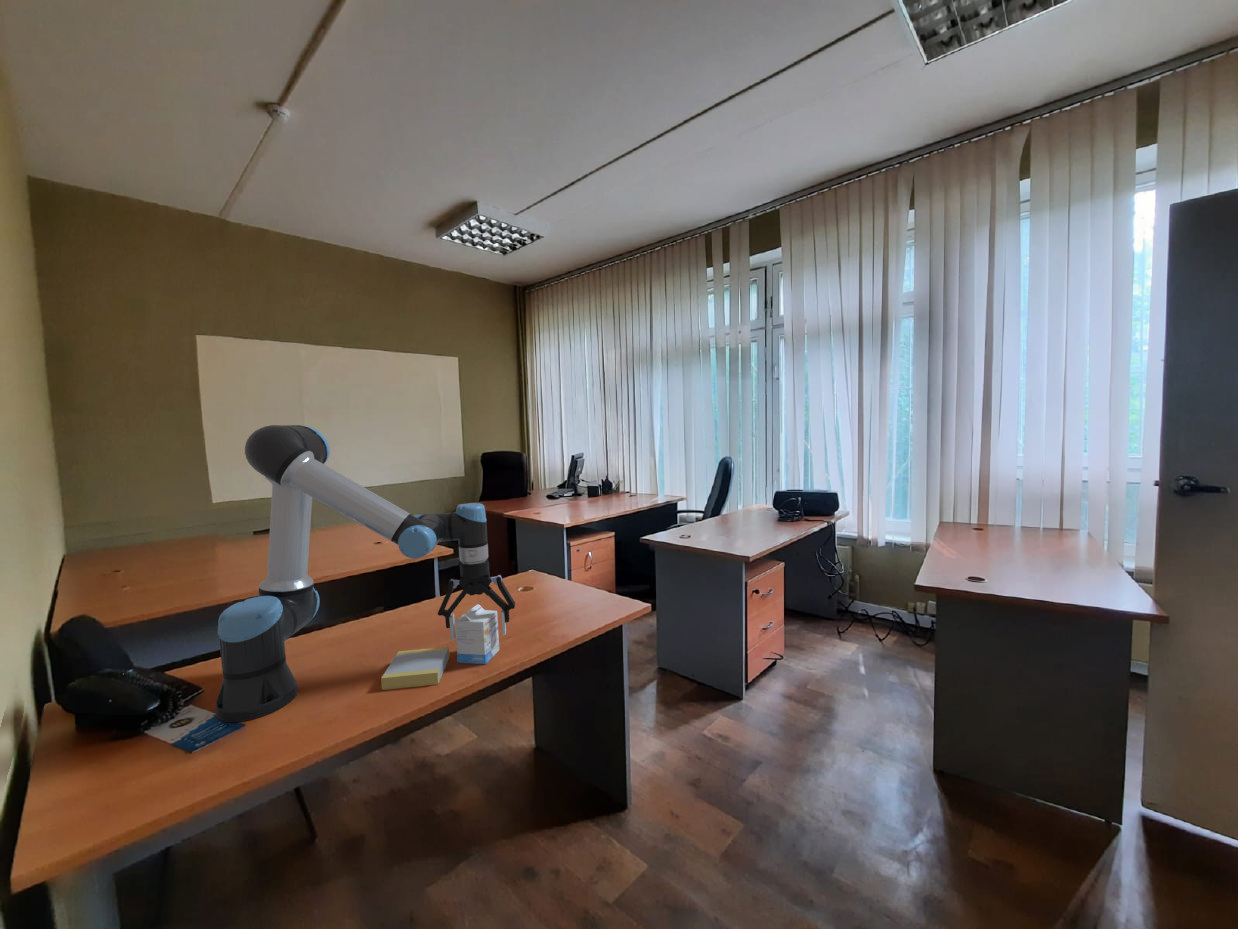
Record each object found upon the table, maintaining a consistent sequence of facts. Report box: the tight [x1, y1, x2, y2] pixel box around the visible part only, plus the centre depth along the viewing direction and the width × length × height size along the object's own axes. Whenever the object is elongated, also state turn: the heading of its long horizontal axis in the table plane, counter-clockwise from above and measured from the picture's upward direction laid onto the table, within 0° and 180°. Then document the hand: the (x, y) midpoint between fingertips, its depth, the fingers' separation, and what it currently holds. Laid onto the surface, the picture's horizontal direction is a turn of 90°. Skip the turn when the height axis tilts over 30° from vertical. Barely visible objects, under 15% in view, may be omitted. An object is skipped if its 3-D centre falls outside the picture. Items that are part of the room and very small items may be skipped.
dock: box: [380, 646, 450, 691], centre depth 122 cm, size 13×14×3 cm
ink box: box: [454, 603, 500, 665], centre depth 130 cm, size 9×8×13 cm
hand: (479, 636), depth 130 cm, fingers open, 13 cm apart
